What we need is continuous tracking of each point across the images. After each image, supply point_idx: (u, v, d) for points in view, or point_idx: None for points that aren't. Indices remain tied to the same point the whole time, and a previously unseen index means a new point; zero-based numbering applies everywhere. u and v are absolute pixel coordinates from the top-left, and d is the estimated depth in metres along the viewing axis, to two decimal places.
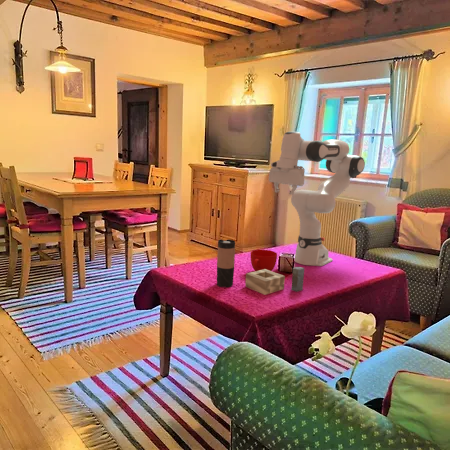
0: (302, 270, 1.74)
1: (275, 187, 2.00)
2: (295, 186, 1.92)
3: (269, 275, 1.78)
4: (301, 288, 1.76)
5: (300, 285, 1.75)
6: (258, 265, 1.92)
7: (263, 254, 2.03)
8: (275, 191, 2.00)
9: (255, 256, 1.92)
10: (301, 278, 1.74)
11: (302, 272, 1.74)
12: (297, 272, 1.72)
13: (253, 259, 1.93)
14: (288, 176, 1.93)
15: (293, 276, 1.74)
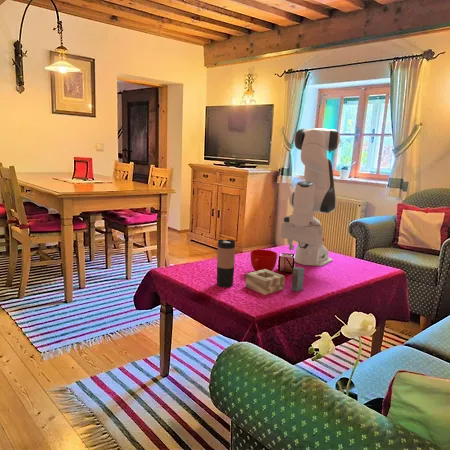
0: (302, 270, 1.74)
1: (289, 244, 1.75)
2: (312, 245, 1.67)
3: (269, 275, 1.78)
4: (301, 288, 1.76)
5: (300, 285, 1.75)
6: (258, 265, 1.92)
7: (263, 254, 2.03)
8: (289, 248, 1.76)
9: (255, 256, 1.92)
10: (301, 278, 1.74)
11: (302, 272, 1.74)
12: (297, 272, 1.72)
13: (253, 259, 1.93)
14: (303, 234, 1.68)
15: (293, 276, 1.74)
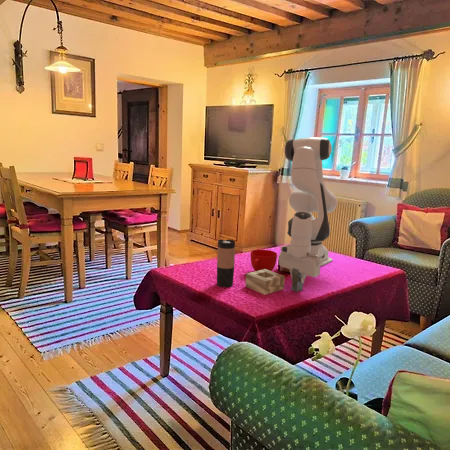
0: None
1: (291, 274, 1.76)
2: (305, 274, 1.72)
3: (269, 275, 1.78)
4: (301, 288, 1.76)
5: (300, 285, 1.75)
6: (258, 265, 1.92)
7: (263, 254, 2.03)
8: None
9: (255, 256, 1.92)
10: None
11: None
12: (297, 272, 1.72)
13: (253, 259, 1.93)
14: (301, 265, 1.71)
15: (293, 276, 1.74)
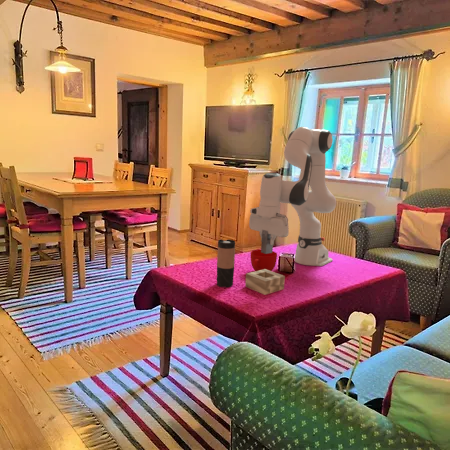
0: None
1: (261, 237, 1.74)
2: (274, 235, 1.69)
3: (269, 275, 1.78)
4: (271, 250, 1.73)
5: (270, 247, 1.73)
6: (258, 265, 1.92)
7: (263, 254, 2.03)
8: (261, 241, 1.74)
9: (255, 256, 1.92)
10: None
11: None
12: (266, 234, 1.70)
13: (253, 259, 1.93)
14: (270, 226, 1.68)
15: (262, 238, 1.72)
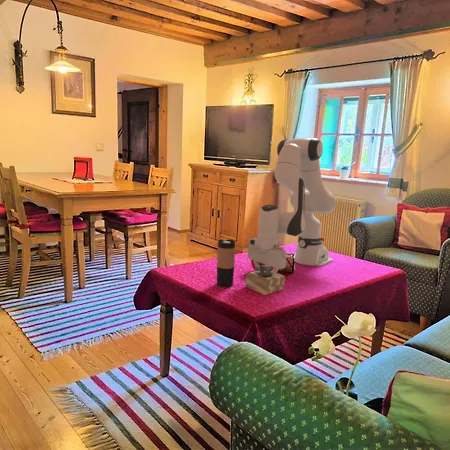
0: (269, 268, 1.75)
1: (255, 265, 1.79)
2: (277, 268, 1.70)
3: None
4: None
5: None
6: None
7: None
8: (256, 270, 1.79)
9: None
10: (268, 276, 1.75)
11: (269, 269, 1.75)
12: (264, 270, 1.74)
13: None
14: (268, 257, 1.71)
15: (260, 274, 1.75)
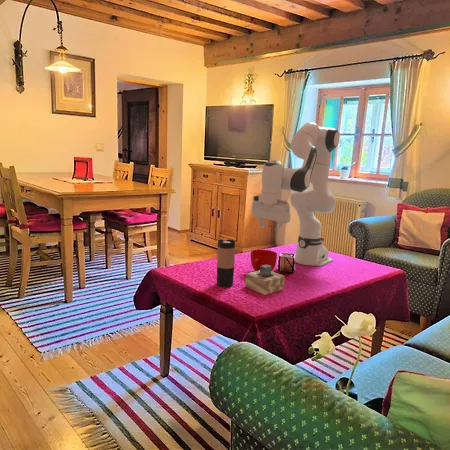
0: (269, 268, 1.75)
1: (260, 222, 1.81)
2: (281, 223, 1.73)
3: None
4: None
5: None
6: (258, 265, 1.92)
7: (263, 254, 2.03)
8: (260, 226, 1.82)
9: (255, 256, 1.92)
10: (268, 276, 1.75)
11: (269, 269, 1.75)
12: (264, 270, 1.74)
13: (253, 259, 1.93)
14: (272, 212, 1.74)
15: (260, 274, 1.75)
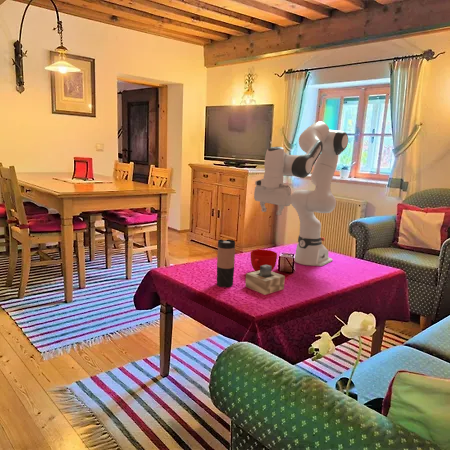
0: (269, 268, 1.75)
1: (261, 206, 1.88)
2: (282, 206, 1.79)
3: None
4: None
5: None
6: (258, 265, 1.92)
7: (263, 254, 2.03)
8: (262, 211, 1.88)
9: (255, 256, 1.92)
10: (268, 276, 1.75)
11: (269, 269, 1.75)
12: (264, 270, 1.74)
13: (253, 259, 1.93)
14: (274, 196, 1.80)
15: (260, 274, 1.75)
